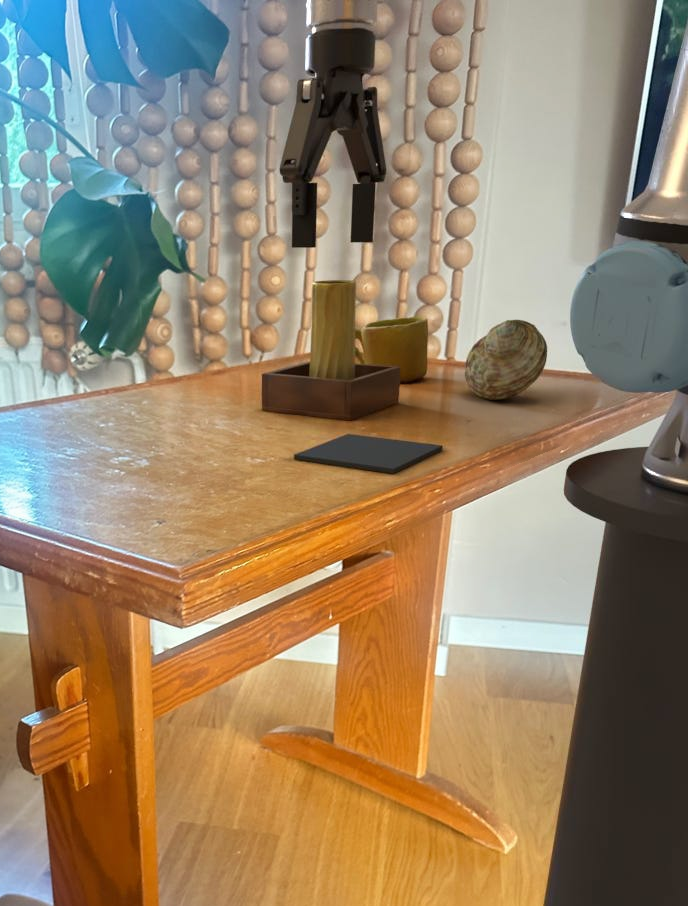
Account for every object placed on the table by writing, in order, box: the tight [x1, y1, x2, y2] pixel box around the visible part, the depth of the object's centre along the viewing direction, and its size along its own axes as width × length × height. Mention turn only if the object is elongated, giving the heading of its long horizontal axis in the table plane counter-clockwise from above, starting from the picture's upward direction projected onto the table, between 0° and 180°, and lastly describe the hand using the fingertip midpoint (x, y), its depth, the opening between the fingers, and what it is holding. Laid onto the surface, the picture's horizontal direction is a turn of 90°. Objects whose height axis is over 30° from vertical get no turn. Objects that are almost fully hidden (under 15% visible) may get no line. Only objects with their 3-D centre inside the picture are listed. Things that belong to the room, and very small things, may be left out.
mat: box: [293, 433, 444, 475], centre depth 93 cm, size 11×11×1 cm
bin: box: [261, 361, 401, 421], centre depth 115 cm, size 13×13×4 cm
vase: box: [309, 279, 357, 380], centre depth 113 cm, size 6×6×14 cm
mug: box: [355, 316, 429, 384], centre depth 133 cm, size 12×10×10 cm
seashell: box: [464, 319, 548, 401], centre depth 117 cm, size 11×11×10 cm
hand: (333, 245), depth 108 cm, fingers open, 13 cm apart
